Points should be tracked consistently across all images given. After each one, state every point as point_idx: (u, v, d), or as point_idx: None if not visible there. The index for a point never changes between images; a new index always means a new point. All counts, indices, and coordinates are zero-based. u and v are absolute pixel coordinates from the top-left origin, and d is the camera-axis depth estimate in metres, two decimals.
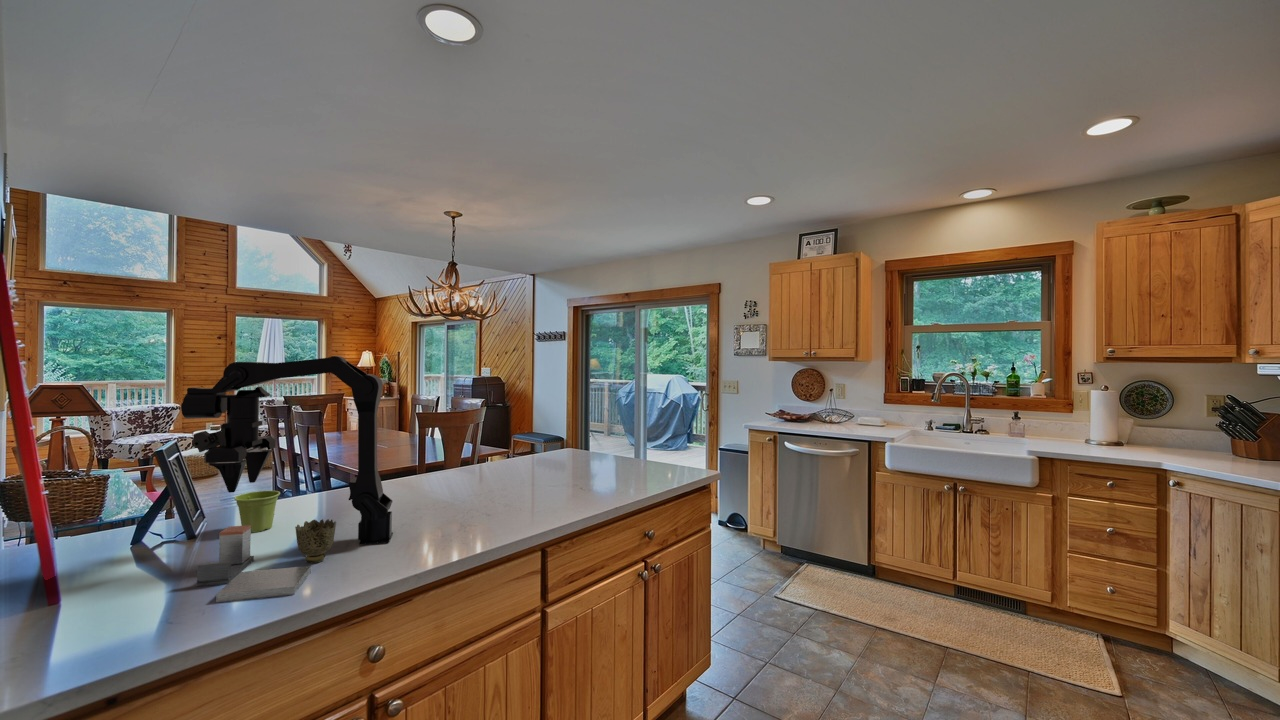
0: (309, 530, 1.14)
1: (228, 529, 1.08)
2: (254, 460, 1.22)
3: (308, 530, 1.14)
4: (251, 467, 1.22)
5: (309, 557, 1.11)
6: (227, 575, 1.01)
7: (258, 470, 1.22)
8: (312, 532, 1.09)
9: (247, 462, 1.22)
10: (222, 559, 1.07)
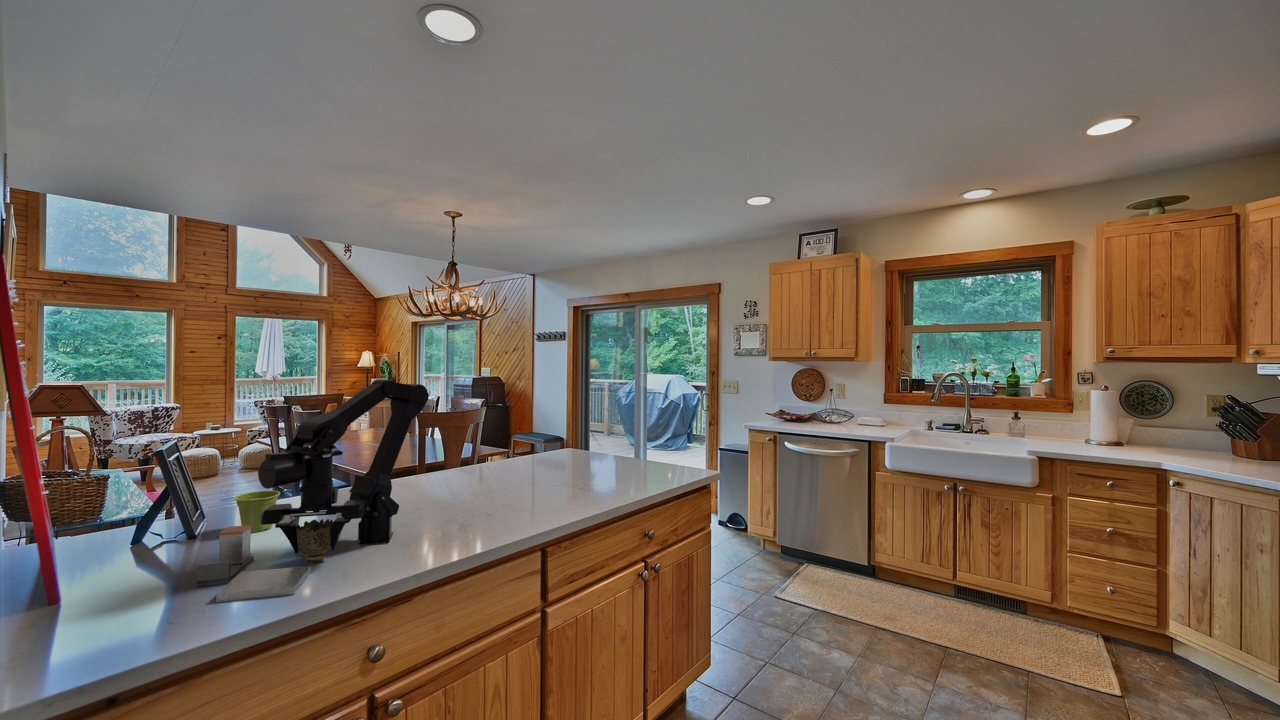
0: (309, 530, 1.14)
1: (228, 529, 1.08)
2: None
3: (308, 530, 1.14)
4: None
5: (309, 557, 1.11)
6: (227, 575, 1.01)
7: (332, 539, 1.12)
8: (312, 531, 1.09)
9: None
10: (222, 559, 1.07)
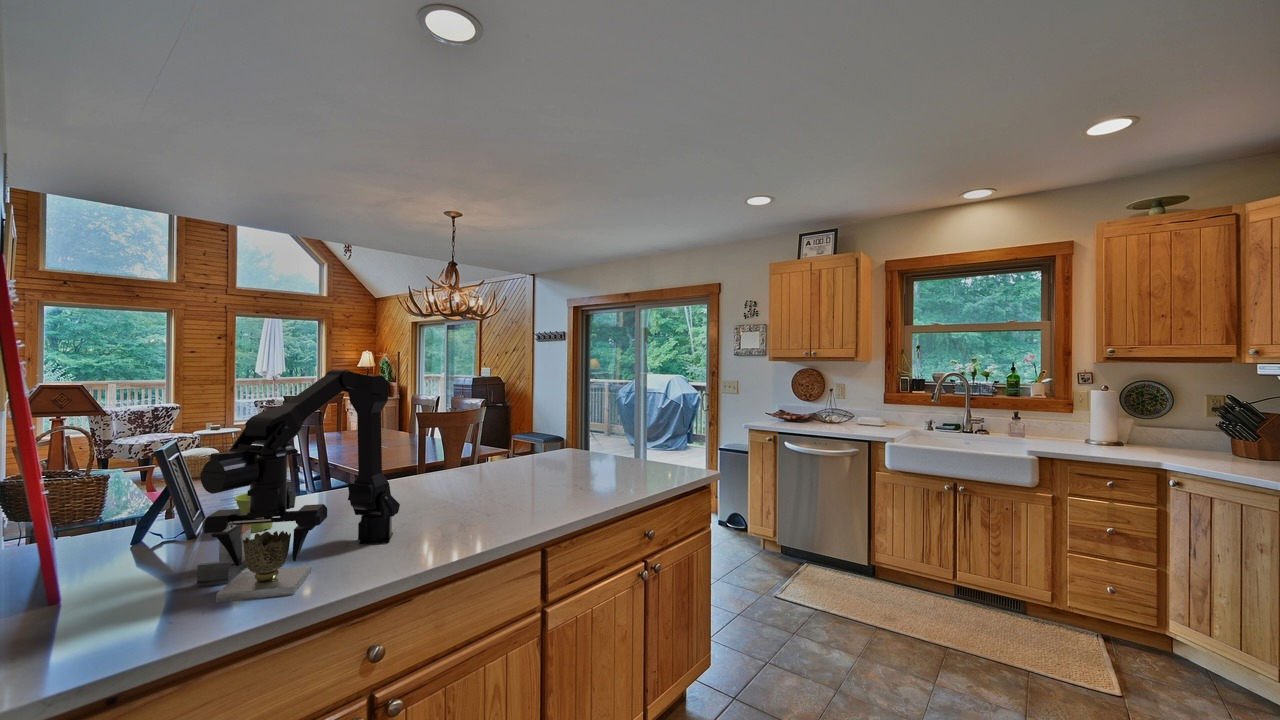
0: (260, 543, 1.02)
1: None
2: None
3: (259, 543, 1.01)
4: None
5: (259, 575, 0.98)
6: (227, 575, 1.01)
7: (293, 548, 1.00)
8: (262, 546, 0.96)
9: None
10: (222, 559, 1.07)
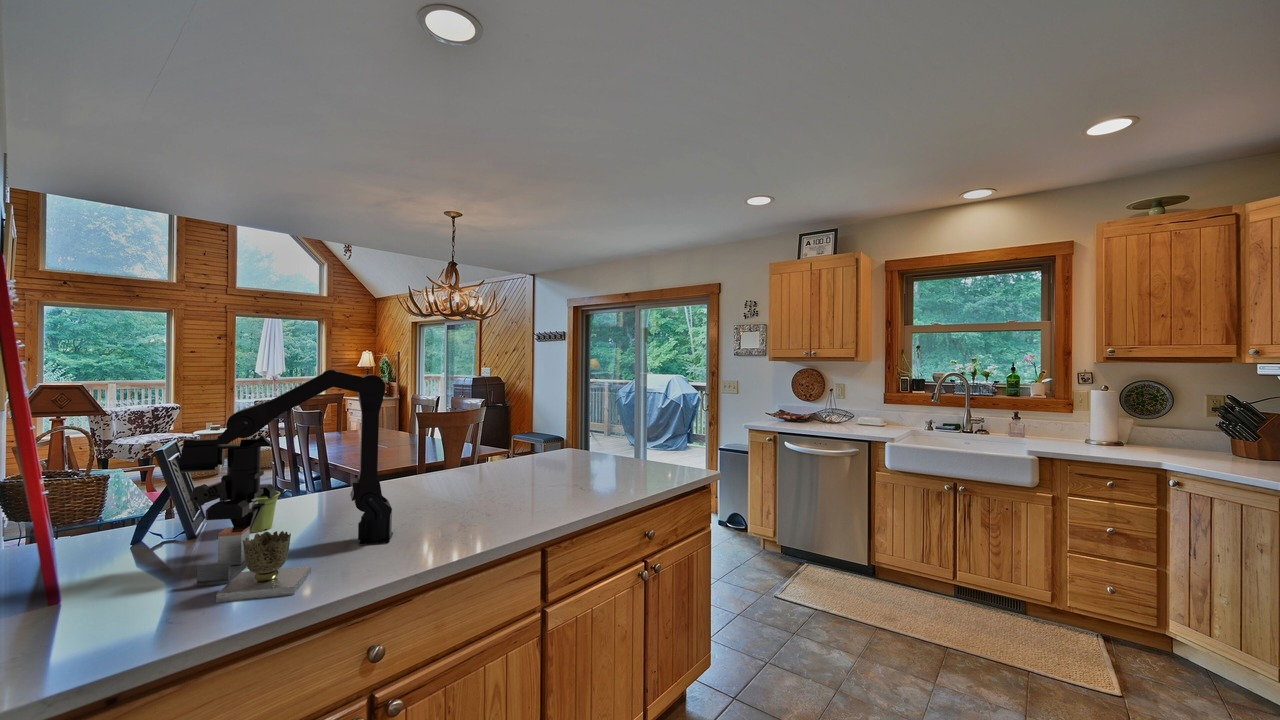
0: (260, 543, 1.02)
1: (227, 530, 1.08)
2: None
3: (259, 544, 1.01)
4: None
5: (259, 575, 0.98)
6: (227, 575, 1.01)
7: None
8: (262, 546, 0.96)
9: None
10: (221, 560, 1.06)
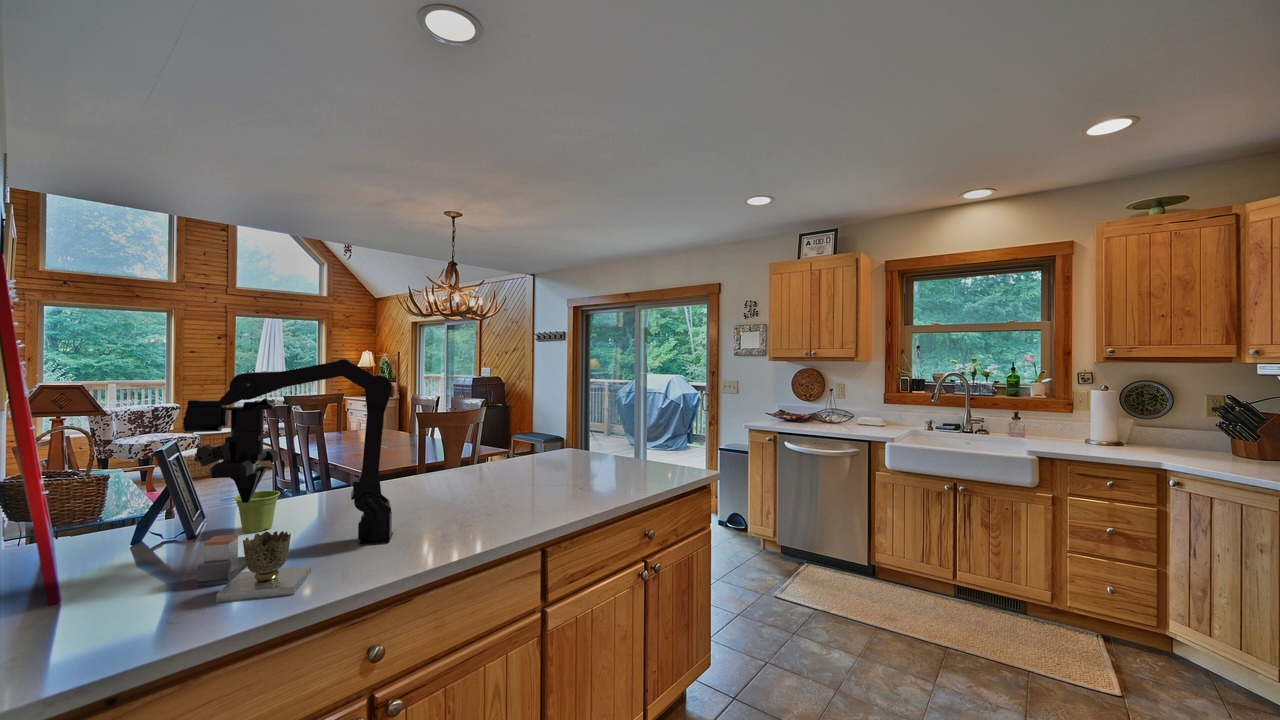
0: (260, 543, 1.02)
1: (214, 539, 1.03)
2: None
3: (259, 544, 1.01)
4: None
5: (259, 575, 0.98)
6: (227, 575, 1.01)
7: None
8: (262, 546, 0.96)
9: None
10: None
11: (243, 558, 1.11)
